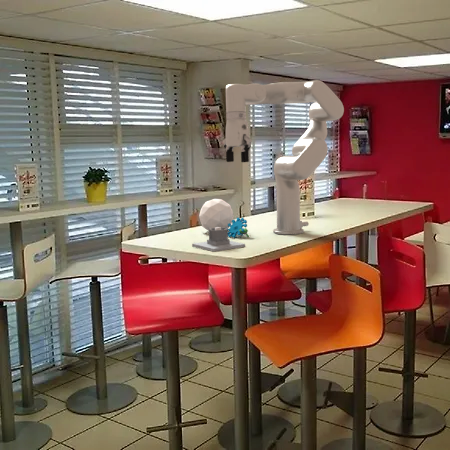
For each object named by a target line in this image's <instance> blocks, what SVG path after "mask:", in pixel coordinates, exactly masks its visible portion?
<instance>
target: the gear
mask: <svg viewBox="0 0 450 450" xmlns="http://www.w3.org/2000/svg"><path fill="white" fill-rule="evenodd" d="M247 223H248V220H247V219H245V218H244V217H241V218H240V217H236V219H233V220H232V224H230V223H229V224H228V226H229V228H227V229H228V239H229V238H230V239H231V237H232V238H233V239H235V238H237V236H239V237H240V236H242V237H243V236H246V237H247V238H249V237H250V235H249V233H248V232H249V230H248V229H247V227H248V224H247Z"/></svg>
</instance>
